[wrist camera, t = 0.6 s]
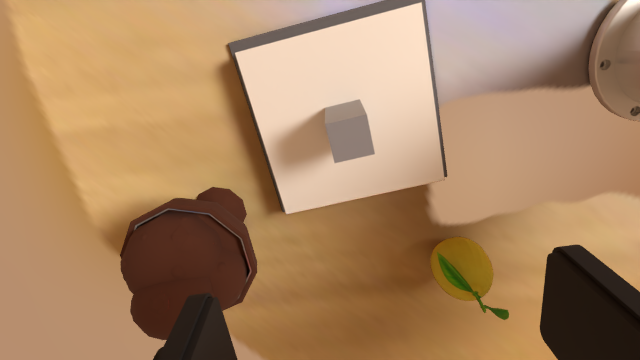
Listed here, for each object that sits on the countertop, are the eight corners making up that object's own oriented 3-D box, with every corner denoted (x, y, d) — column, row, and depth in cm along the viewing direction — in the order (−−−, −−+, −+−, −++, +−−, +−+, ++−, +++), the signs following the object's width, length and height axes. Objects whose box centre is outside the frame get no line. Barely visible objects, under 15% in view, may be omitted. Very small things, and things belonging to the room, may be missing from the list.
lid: (414, 4, 30) (444, -5, 22) (437, 170, 36) (468, 209, 28) (241, 51, 32) (213, 57, 24) (288, 202, 37) (278, 248, 30)
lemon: (479, 267, 41) (524, 337, 31) (426, 275, 41) (455, 347, 32) (476, 215, 38) (524, 274, 29) (420, 224, 39) (449, 286, 29)
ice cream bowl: (291, 228, 39) (271, 336, 25) (206, 268, 41) (144, 388, 27) (236, 144, 36) (179, 216, 22) (147, 193, 38) (42, 287, 24)
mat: (422, -10, 30) (423, -11, 30) (446, 175, 36) (447, 176, 36) (229, 43, 32) (228, 43, 32) (283, 210, 38) (282, 212, 38)
